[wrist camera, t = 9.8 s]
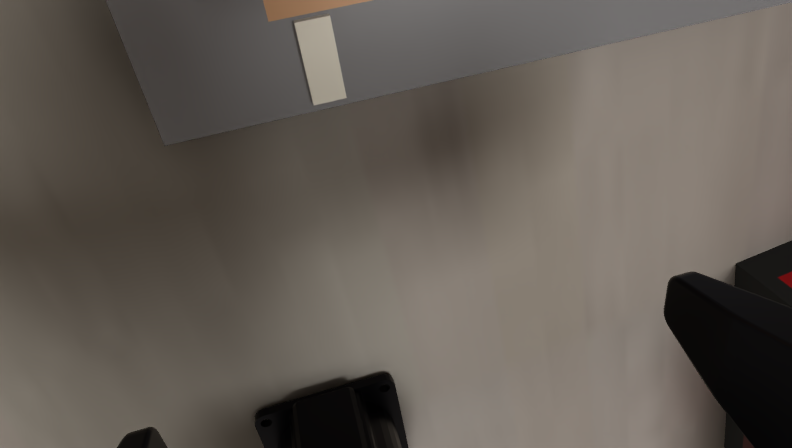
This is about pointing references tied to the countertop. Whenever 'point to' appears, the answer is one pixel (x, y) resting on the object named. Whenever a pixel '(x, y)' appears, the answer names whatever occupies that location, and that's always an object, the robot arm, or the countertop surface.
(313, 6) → the tan rectangular block
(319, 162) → the countertop surface
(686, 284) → the robot arm
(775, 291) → the cleaning product box
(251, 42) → the console
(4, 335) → the countertop surface
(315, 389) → the countertop surface
